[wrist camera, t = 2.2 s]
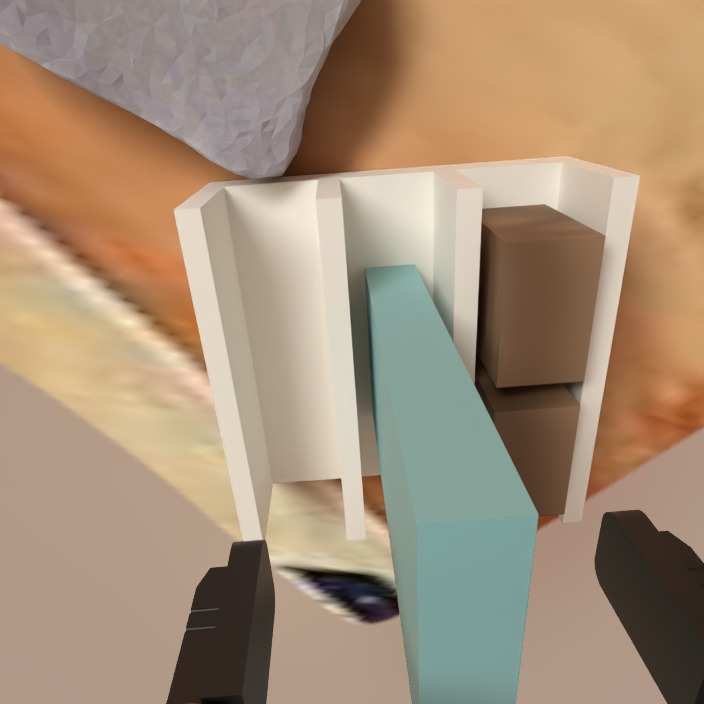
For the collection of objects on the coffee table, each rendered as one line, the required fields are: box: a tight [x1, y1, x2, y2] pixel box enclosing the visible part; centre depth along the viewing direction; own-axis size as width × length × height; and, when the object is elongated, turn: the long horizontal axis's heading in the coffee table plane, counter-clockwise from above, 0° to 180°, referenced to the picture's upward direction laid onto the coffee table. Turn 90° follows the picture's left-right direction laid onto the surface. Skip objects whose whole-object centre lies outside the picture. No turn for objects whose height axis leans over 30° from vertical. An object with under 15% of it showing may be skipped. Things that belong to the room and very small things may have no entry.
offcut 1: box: [476, 204, 606, 388], centre depth 19 cm, size 3×5×5 cm, turn 4°
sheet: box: [365, 264, 539, 704], centre depth 16 cm, size 2×7×14 cm, turn 4°
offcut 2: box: [474, 352, 580, 516], centre depth 22 cm, size 3×5×5 cm, turn 4°
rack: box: [174, 156, 640, 541], centre depth 22 cm, size 14×14×6 cm
